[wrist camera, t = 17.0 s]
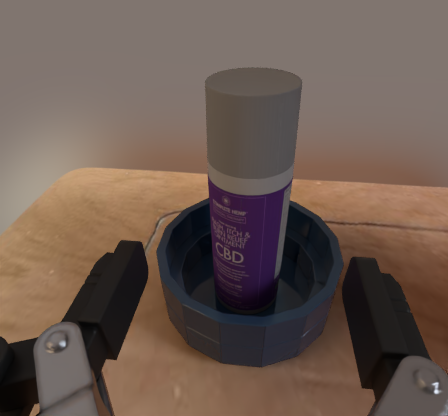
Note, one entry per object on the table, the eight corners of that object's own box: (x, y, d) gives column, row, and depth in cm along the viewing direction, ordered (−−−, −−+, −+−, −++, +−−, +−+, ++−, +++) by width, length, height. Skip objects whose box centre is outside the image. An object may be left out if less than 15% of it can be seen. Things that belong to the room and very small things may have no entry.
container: (209, 311, 22) (192, 95, 13) (219, 261, 26) (211, 66, 17) (277, 318, 22) (308, 98, 12) (277, 267, 25) (302, 67, 16)
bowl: (317, 241, 28) (327, 196, 25) (341, 381, 19) (361, 335, 16) (185, 233, 29) (180, 189, 26) (146, 360, 20) (130, 314, 17)
